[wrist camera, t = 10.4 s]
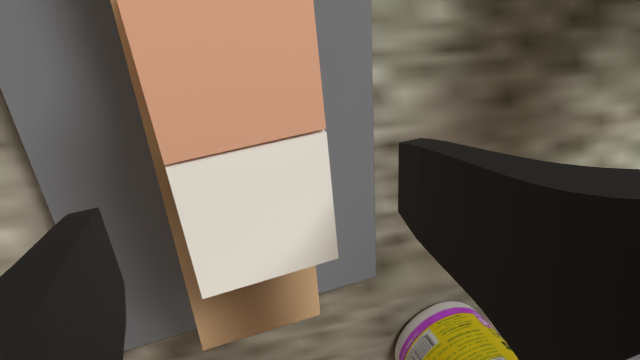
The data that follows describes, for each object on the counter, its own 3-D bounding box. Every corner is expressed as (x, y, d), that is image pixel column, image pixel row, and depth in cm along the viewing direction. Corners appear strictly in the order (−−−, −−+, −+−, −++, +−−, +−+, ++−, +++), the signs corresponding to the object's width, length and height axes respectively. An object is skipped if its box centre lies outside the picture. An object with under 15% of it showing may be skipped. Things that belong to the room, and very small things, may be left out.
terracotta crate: (265, -47, 13) (308, -47, 10) (284, 89, 15) (326, 128, 12) (118, -29, 12) (110, -23, 9) (158, 114, 14) (164, 164, 11)
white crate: (284, 92, 15) (326, 132, 12) (299, 197, 17) (338, 258, 14) (159, 117, 14) (165, 168, 11) (189, 226, 16) (202, 299, 13)
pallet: (239, -186, 15) (268, -227, 11) (293, 261, 23) (320, 314, 20) (71, -185, 14) (49, -232, 10) (193, 289, 22) (203, 350, 18)
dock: (349, -228, 17) (365, -243, 15) (364, 261, 27) (376, 276, 25) (-112, -239, 13) (-140, -260, 12) (109, 333, 23) (107, 355, 22)
